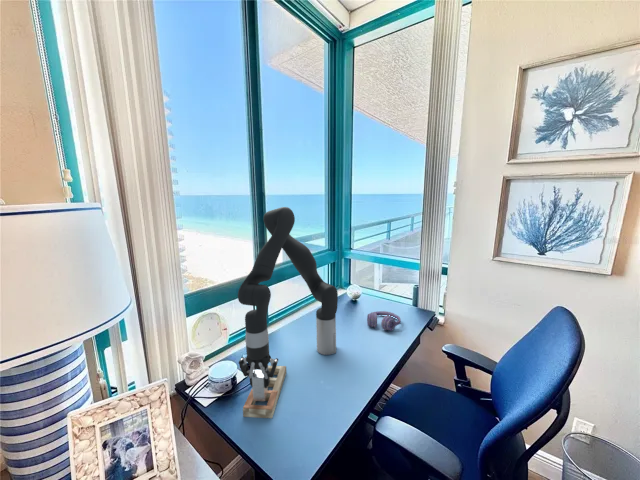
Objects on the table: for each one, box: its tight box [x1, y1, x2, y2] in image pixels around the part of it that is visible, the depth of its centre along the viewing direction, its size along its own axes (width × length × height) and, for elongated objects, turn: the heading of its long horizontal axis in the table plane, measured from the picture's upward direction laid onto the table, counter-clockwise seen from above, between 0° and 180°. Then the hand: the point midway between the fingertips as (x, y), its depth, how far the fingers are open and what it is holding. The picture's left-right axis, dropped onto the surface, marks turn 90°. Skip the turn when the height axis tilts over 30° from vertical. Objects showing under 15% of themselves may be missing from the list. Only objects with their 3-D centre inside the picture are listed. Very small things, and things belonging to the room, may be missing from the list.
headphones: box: [366, 310, 401, 332], centre depth 149 cm, size 18×8×20 cm
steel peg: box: [251, 369, 269, 402], centre depth 90 cm, size 4×4×9 cm
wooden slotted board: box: [242, 365, 287, 419], centre depth 98 cm, size 10×23×3 cm, turn 175°
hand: (260, 385), depth 90 cm, fingers closed on steel peg, 4 cm apart
